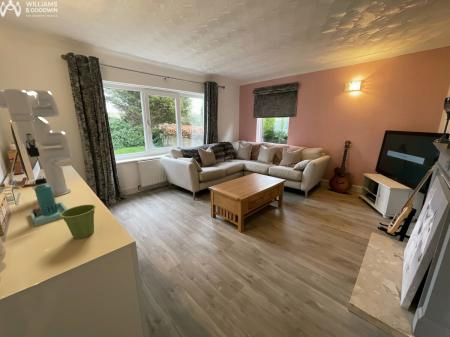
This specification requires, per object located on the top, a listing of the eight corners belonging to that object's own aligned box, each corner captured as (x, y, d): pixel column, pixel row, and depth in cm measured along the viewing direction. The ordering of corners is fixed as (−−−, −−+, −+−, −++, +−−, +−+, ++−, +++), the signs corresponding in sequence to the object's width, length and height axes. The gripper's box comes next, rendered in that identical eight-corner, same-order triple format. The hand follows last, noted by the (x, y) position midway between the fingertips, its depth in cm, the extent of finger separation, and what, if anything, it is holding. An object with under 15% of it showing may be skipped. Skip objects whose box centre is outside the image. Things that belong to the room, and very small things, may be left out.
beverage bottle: (49, 219, 94) (38, 181, 89) (38, 218, 96) (27, 180, 91) (62, 213, 100) (52, 177, 96) (52, 212, 102) (42, 176, 97)
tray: (31, 215, 101) (29, 210, 100) (62, 206, 110) (61, 202, 109) (35, 227, 88) (33, 221, 88) (70, 216, 98) (69, 211, 97)
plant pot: (103, 233, 81) (98, 209, 78) (68, 246, 73) (61, 220, 70) (97, 223, 89) (92, 201, 87) (65, 234, 81) (58, 210, 79)
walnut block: (34, 214, 100) (32, 207, 99) (44, 211, 103) (42, 204, 102) (37, 216, 98) (35, 209, 97) (47, 213, 101) (45, 206, 100)
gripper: (10, 119, 89) (21, 155, 93) (11, 118, 78) (24, 158, 82) (32, 119, 95) (42, 153, 99) (36, 117, 83) (47, 156, 88)
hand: (33, 155), depth 90 cm, fingers open, 9 cm apart
